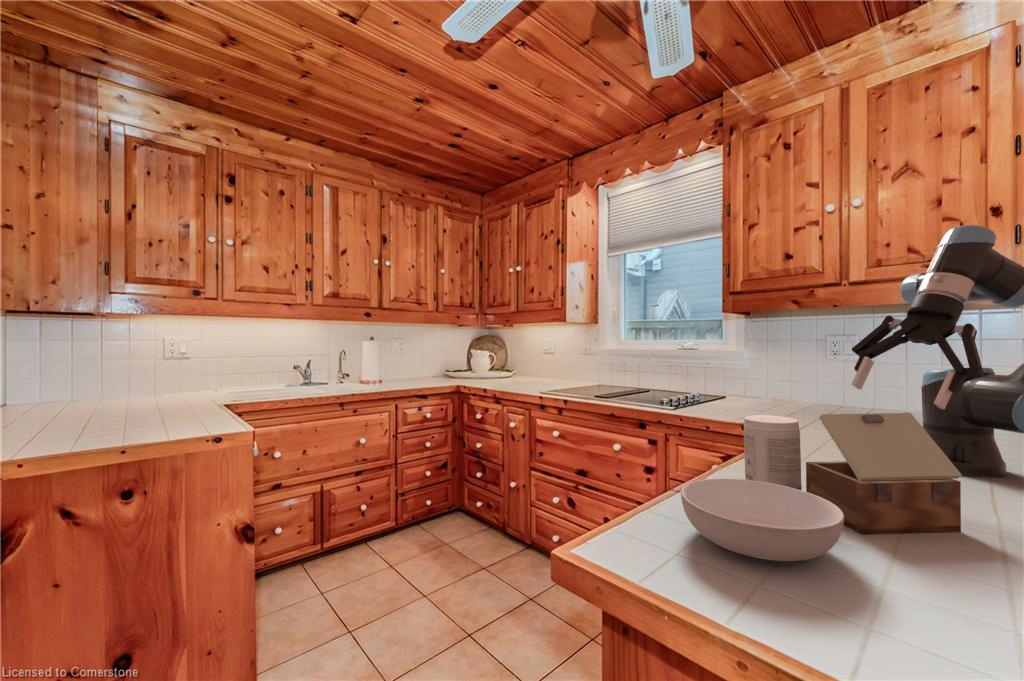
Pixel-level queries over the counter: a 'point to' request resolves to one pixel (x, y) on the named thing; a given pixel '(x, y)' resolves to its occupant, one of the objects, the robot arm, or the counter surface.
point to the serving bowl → (762, 518)
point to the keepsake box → (887, 500)
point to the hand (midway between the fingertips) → (894, 396)
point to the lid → (888, 447)
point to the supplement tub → (772, 450)
